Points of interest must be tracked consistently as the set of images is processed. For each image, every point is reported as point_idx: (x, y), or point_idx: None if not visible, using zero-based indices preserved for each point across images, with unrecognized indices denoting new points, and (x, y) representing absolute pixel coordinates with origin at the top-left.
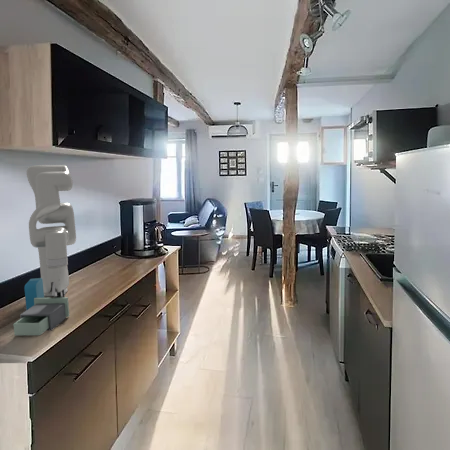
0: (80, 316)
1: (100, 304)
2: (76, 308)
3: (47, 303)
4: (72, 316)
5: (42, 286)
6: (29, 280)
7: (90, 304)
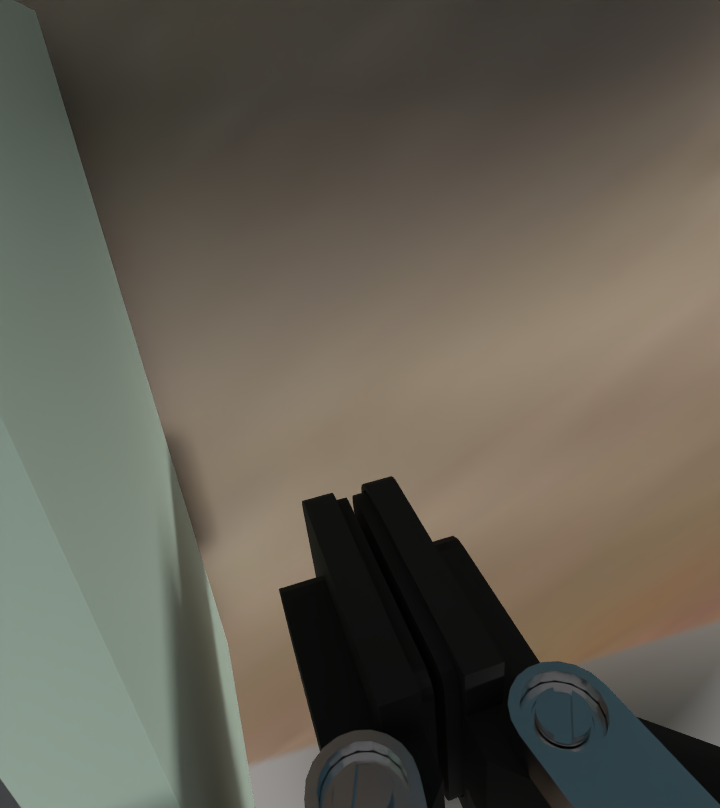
0: (275, 715)
1: (667, 632)
2: (576, 480)
3: None
4: (259, 639)
5: None
6: None
7: (693, 541)
